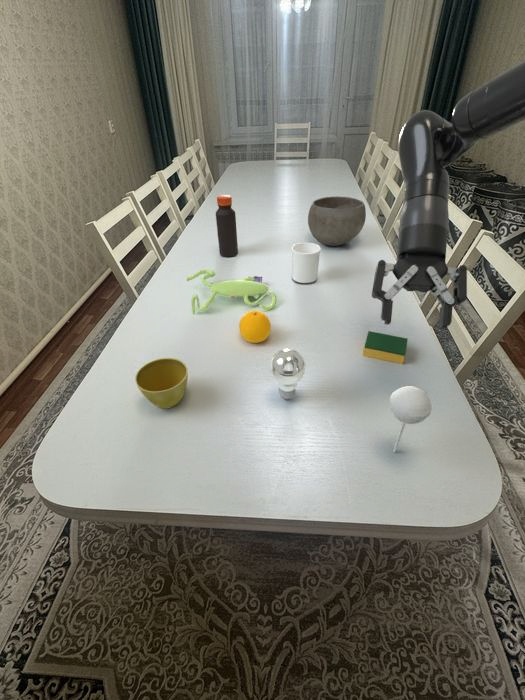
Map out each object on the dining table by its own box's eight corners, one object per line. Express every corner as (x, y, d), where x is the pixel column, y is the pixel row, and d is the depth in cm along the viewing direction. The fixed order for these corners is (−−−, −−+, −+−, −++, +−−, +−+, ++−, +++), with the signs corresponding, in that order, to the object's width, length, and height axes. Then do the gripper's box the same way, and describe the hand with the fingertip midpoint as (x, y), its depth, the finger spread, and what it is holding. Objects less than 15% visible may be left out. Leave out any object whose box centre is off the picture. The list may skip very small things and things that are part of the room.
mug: (309, 288, 110) (311, 256, 104) (285, 280, 115) (285, 249, 108) (326, 274, 117) (329, 244, 111) (303, 267, 121) (305, 238, 115)
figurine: (190, 284, 114) (187, 268, 111) (273, 281, 115) (273, 264, 111) (182, 315, 100) (178, 298, 96) (277, 312, 100) (277, 294, 97)
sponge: (404, 349, 86) (407, 338, 84) (402, 364, 82) (405, 353, 80) (366, 341, 89) (368, 330, 87) (362, 355, 84) (364, 345, 82)
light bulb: (267, 388, 77) (266, 343, 69) (298, 383, 77) (301, 339, 70) (273, 412, 71) (273, 367, 64) (307, 407, 72) (311, 361, 65)
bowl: (317, 229, 149) (320, 191, 140) (367, 236, 142) (373, 197, 133) (298, 247, 135) (300, 206, 126) (353, 256, 128) (359, 214, 118)
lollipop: (369, 449, 64) (385, 389, 55) (389, 432, 67) (407, 372, 57) (399, 473, 60) (422, 412, 51) (419, 453, 63) (444, 393, 54)
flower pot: (171, 376, 80) (165, 351, 76) (202, 396, 75) (198, 370, 71) (133, 402, 74) (124, 376, 70) (164, 426, 69) (156, 400, 65)
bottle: (235, 258, 129) (231, 200, 116) (217, 257, 130) (211, 199, 117) (240, 250, 134) (236, 194, 122) (222, 249, 135) (217, 193, 123)
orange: (235, 333, 93) (233, 308, 88) (264, 326, 95) (263, 301, 90) (245, 350, 87) (244, 325, 82) (275, 343, 89) (276, 317, 84)
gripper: (382, 219, 58) (373, 317, 56) (478, 223, 55) (471, 326, 54) (375, 239, 65) (367, 326, 63) (459, 243, 63) (453, 334, 61)
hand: (414, 326), depth 58 cm, fingers open, 8 cm apart
